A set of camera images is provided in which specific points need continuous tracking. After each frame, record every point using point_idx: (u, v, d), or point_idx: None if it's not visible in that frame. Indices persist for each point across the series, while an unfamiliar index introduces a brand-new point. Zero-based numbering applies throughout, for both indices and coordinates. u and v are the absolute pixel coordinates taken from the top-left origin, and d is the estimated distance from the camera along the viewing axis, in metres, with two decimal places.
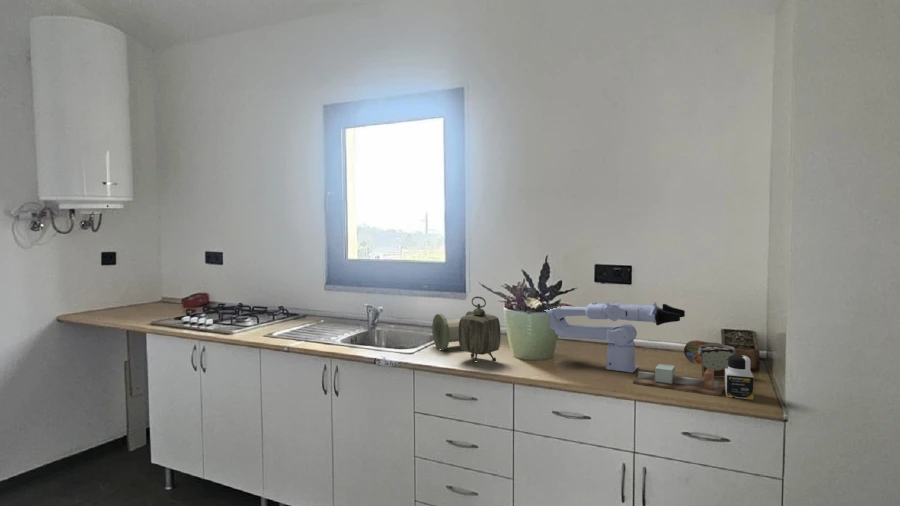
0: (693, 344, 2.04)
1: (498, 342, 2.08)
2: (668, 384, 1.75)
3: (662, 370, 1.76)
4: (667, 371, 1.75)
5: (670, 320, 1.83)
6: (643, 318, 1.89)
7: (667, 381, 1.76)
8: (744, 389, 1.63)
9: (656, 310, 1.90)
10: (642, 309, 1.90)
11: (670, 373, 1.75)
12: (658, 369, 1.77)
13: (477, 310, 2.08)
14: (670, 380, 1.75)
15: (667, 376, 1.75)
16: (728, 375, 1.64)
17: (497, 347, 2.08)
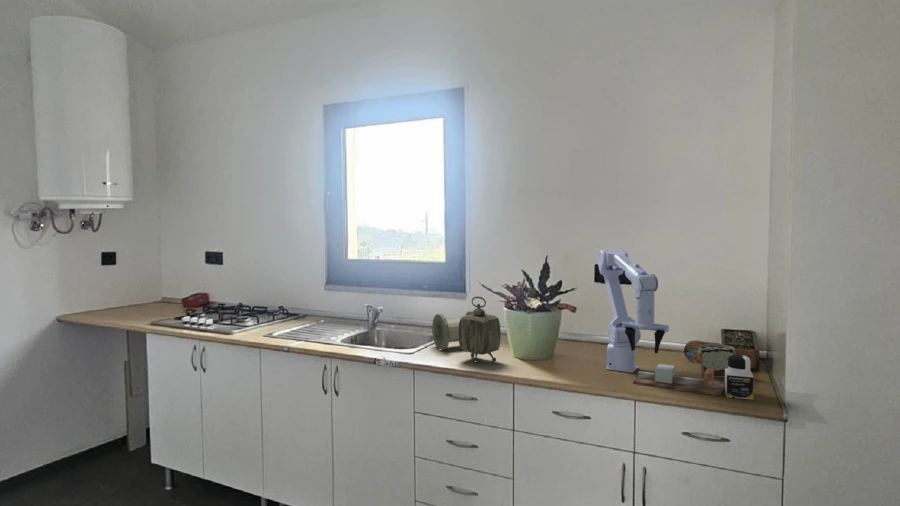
0: (693, 344, 2.04)
1: (498, 342, 2.08)
2: (668, 384, 1.75)
3: (662, 370, 1.76)
4: (667, 371, 1.75)
5: None
6: None
7: (667, 381, 1.76)
8: (744, 389, 1.63)
9: None
10: (637, 314, 1.81)
11: (670, 373, 1.75)
12: (658, 369, 1.77)
13: (477, 310, 2.08)
14: (670, 380, 1.75)
15: (667, 376, 1.75)
16: (728, 375, 1.64)
17: (497, 347, 2.08)
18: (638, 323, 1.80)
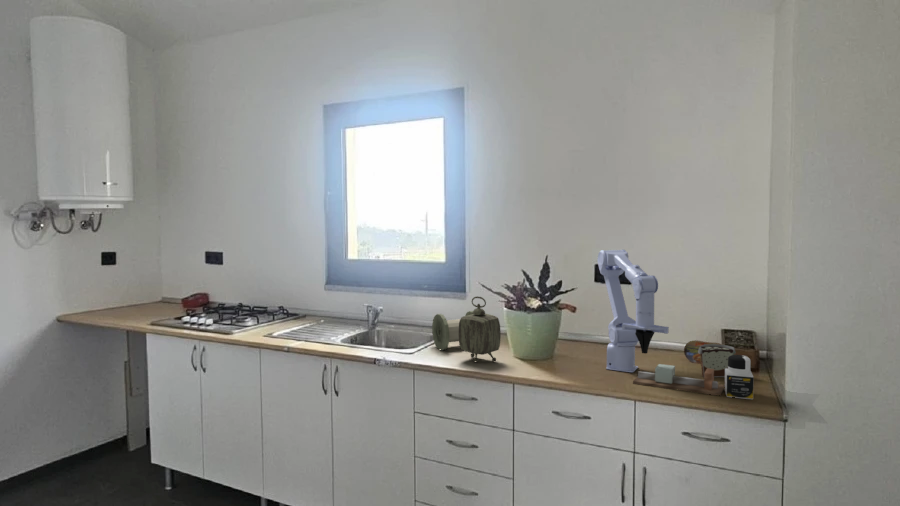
0: (693, 344, 2.04)
1: (498, 342, 2.08)
2: (668, 384, 1.75)
3: (662, 370, 1.76)
4: (667, 371, 1.75)
5: None
6: None
7: (667, 381, 1.76)
8: (744, 389, 1.63)
9: None
10: (637, 315, 1.81)
11: (670, 373, 1.75)
12: (658, 369, 1.77)
13: (477, 310, 2.08)
14: (670, 380, 1.75)
15: (667, 376, 1.75)
16: (728, 375, 1.64)
17: (497, 347, 2.08)
18: (638, 324, 1.80)
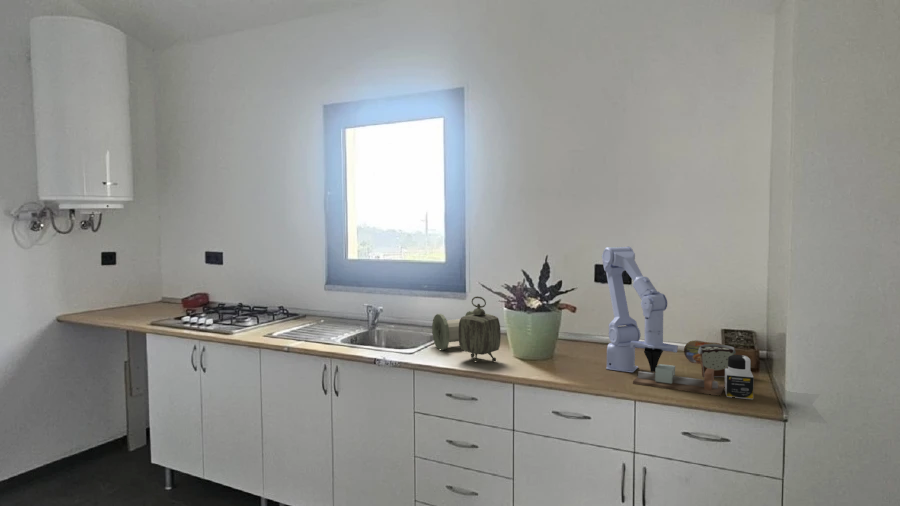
0: (693, 344, 2.04)
1: (498, 342, 2.08)
2: (668, 384, 1.75)
3: (662, 370, 1.76)
4: (667, 371, 1.75)
5: None
6: None
7: (667, 381, 1.76)
8: (744, 389, 1.63)
9: None
10: (646, 333, 1.79)
11: (670, 373, 1.75)
12: (658, 369, 1.77)
13: (477, 310, 2.08)
14: (670, 380, 1.75)
15: (667, 376, 1.75)
16: (728, 375, 1.64)
17: (497, 347, 2.08)
18: (647, 343, 1.79)
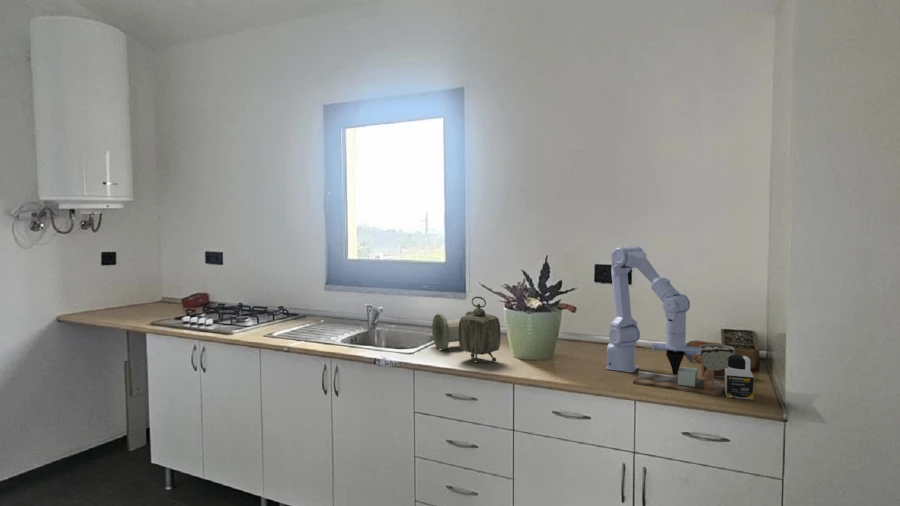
0: (693, 344, 2.04)
1: (498, 342, 2.08)
2: (668, 384, 1.75)
3: (685, 373, 1.73)
4: (690, 374, 1.72)
5: None
6: None
7: (690, 384, 1.72)
8: (744, 389, 1.63)
9: None
10: (668, 336, 1.76)
11: (693, 376, 1.71)
12: (681, 372, 1.73)
13: (477, 310, 2.08)
14: (693, 383, 1.71)
15: (690, 379, 1.72)
16: (728, 375, 1.64)
17: (497, 347, 2.08)
18: (669, 345, 1.75)
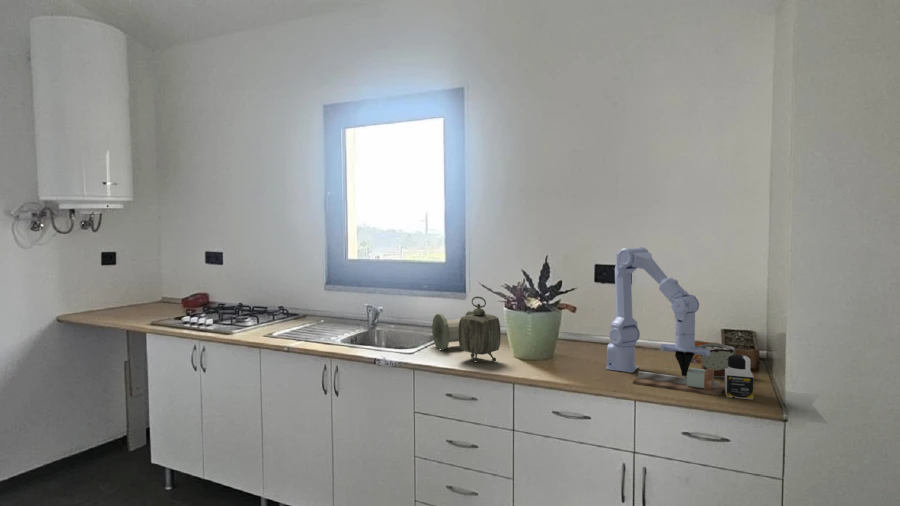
0: None
1: (498, 342, 2.08)
2: (668, 384, 1.75)
3: (694, 374, 1.71)
4: (700, 375, 1.70)
5: None
6: None
7: (700, 385, 1.70)
8: (744, 389, 1.63)
9: None
10: (677, 336, 1.74)
11: (703, 377, 1.70)
12: (690, 373, 1.72)
13: (477, 310, 2.08)
14: (703, 384, 1.70)
15: (700, 380, 1.70)
16: (728, 375, 1.64)
17: (497, 347, 2.08)
18: (678, 346, 1.74)
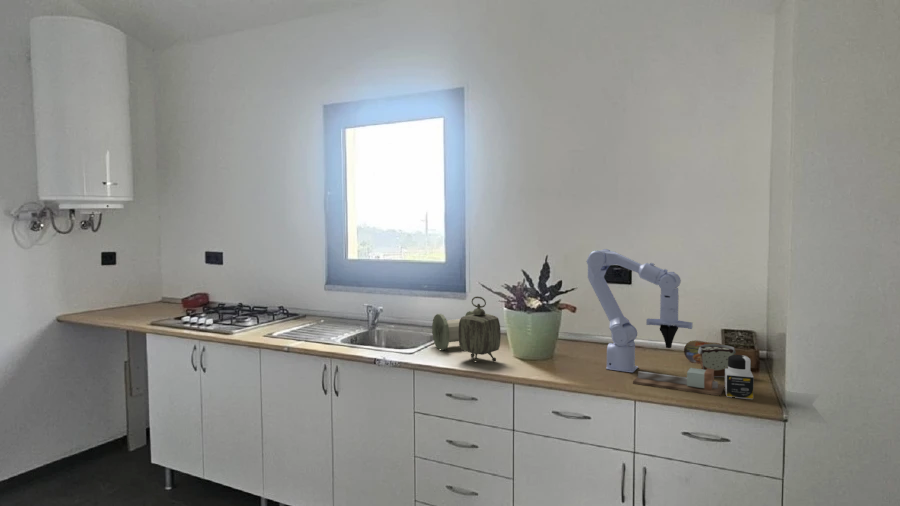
0: (693, 344, 2.04)
1: (498, 342, 2.08)
2: (668, 384, 1.75)
3: (694, 374, 1.71)
4: (700, 375, 1.70)
5: None
6: None
7: (700, 385, 1.70)
8: (744, 389, 1.63)
9: None
10: (661, 311, 1.86)
11: (703, 377, 1.70)
12: (690, 373, 1.72)
13: (477, 310, 2.08)
14: (703, 384, 1.70)
15: (700, 380, 1.70)
16: (728, 375, 1.64)
17: (497, 347, 2.08)
18: (662, 320, 1.85)
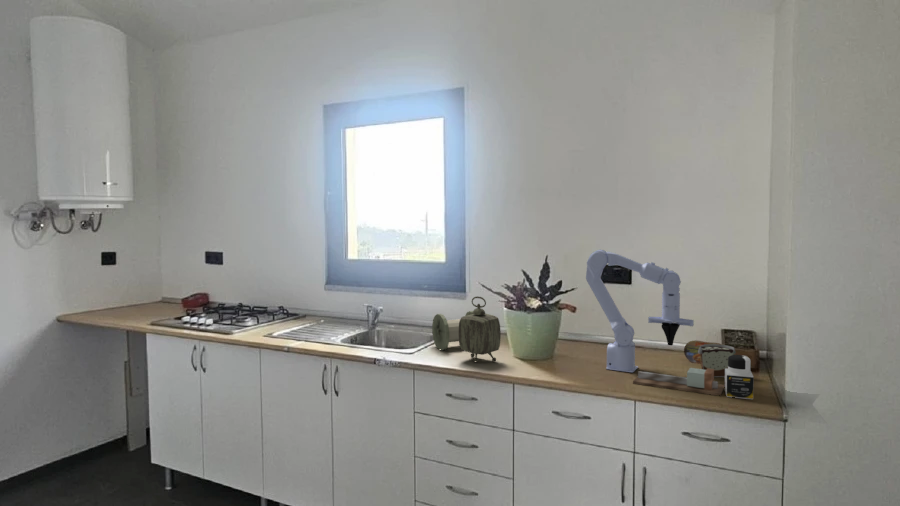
0: (693, 344, 2.04)
1: (498, 342, 2.08)
2: (668, 384, 1.75)
3: (694, 374, 1.71)
4: (700, 375, 1.70)
5: None
6: None
7: (700, 385, 1.70)
8: (744, 389, 1.63)
9: None
10: (663, 309, 1.89)
11: (703, 377, 1.70)
12: (690, 373, 1.72)
13: (477, 310, 2.08)
14: (703, 384, 1.70)
15: (700, 380, 1.70)
16: (728, 375, 1.64)
17: (497, 347, 2.08)
18: (664, 318, 1.89)
